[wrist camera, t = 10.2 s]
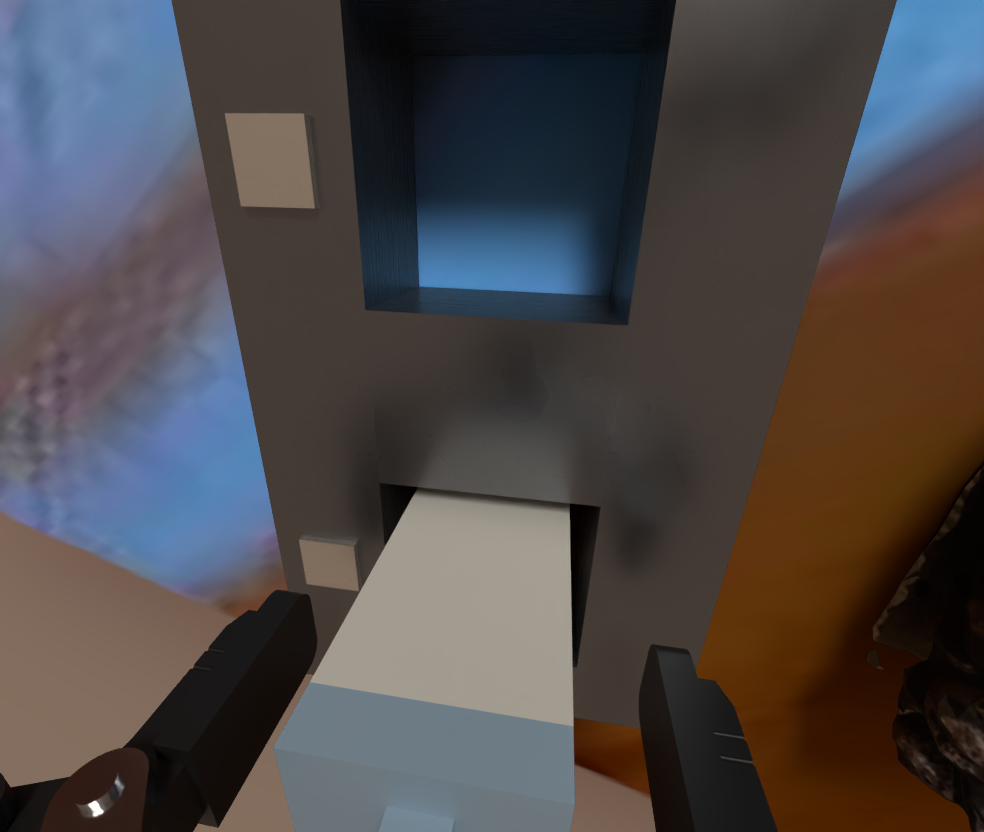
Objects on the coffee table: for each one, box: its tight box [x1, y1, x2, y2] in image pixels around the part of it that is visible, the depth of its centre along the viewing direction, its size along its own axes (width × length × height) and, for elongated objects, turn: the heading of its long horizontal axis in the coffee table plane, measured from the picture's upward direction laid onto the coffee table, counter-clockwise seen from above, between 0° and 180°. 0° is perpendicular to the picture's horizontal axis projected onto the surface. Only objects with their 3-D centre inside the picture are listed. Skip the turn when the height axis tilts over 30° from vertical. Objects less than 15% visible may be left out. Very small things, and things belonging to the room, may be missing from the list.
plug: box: [274, 487, 575, 832], centre depth 11 cm, size 4×4×11 cm
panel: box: [172, 0, 897, 729], centre depth 12 cm, size 12×20×4 cm, turn 178°
